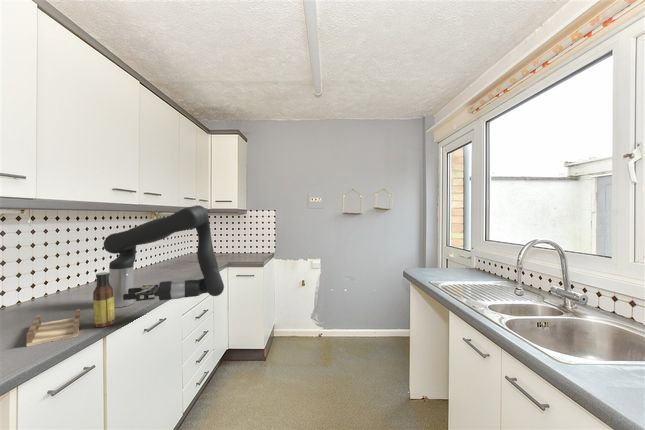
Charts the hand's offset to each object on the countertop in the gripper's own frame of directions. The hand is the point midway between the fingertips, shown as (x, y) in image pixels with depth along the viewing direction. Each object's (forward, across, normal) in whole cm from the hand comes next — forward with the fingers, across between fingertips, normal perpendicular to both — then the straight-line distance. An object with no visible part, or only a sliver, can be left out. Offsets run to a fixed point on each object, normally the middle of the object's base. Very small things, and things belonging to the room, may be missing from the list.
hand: (125, 294), depth 111 cm
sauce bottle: (+7, 0, +11) cm, 13 cm away
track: (+21, +1, +11) cm, 23 cm away
